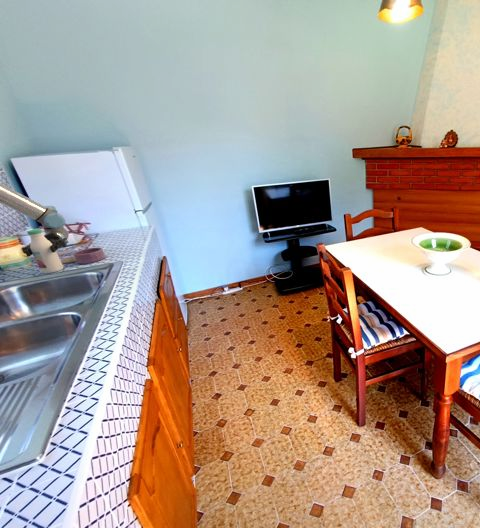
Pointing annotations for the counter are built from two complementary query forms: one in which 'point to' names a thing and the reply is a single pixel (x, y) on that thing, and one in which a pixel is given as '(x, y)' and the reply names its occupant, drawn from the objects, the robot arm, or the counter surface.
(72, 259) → the coaster
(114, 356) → the counter surface
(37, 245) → the milk bottle
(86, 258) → the bowl
